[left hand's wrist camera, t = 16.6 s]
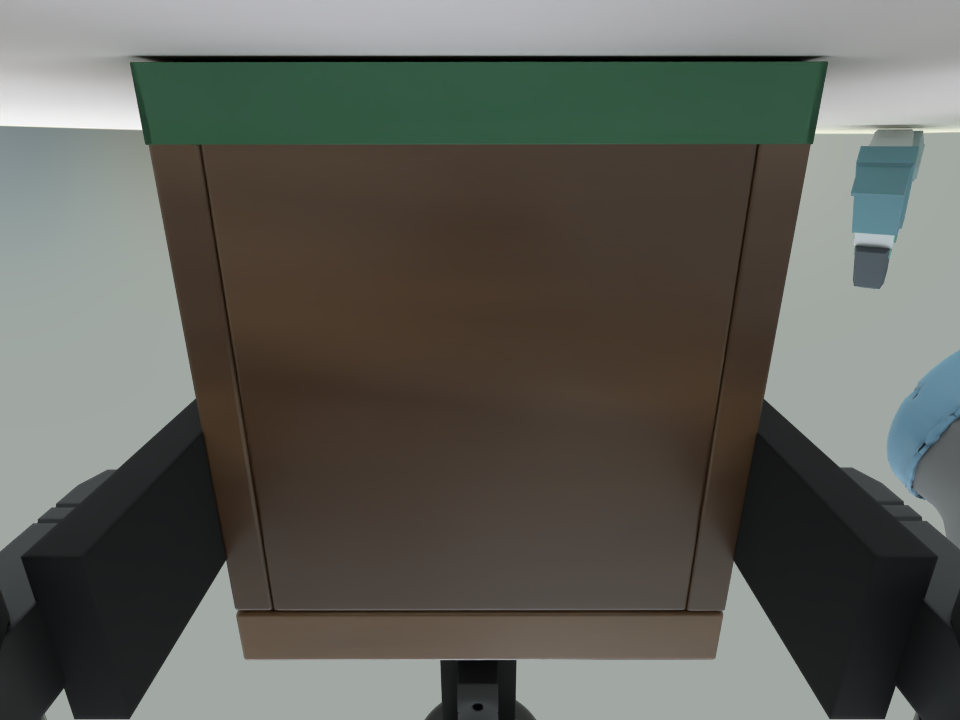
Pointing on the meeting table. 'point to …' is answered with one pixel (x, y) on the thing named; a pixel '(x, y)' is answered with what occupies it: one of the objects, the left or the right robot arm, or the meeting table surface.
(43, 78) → the meeting table surface
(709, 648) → the lid
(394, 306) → the chest
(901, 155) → the toy gun
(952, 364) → the right robot arm
